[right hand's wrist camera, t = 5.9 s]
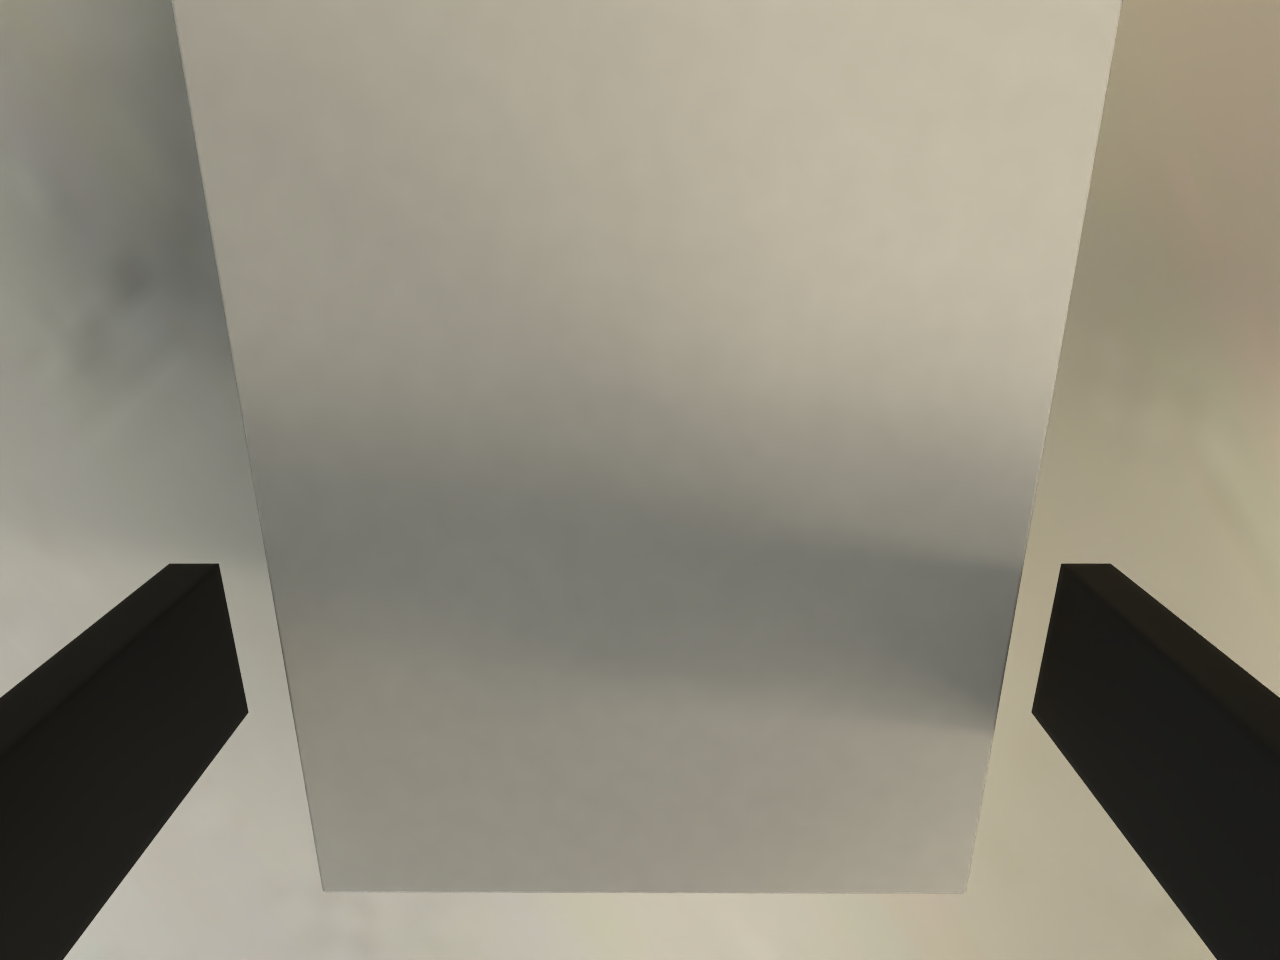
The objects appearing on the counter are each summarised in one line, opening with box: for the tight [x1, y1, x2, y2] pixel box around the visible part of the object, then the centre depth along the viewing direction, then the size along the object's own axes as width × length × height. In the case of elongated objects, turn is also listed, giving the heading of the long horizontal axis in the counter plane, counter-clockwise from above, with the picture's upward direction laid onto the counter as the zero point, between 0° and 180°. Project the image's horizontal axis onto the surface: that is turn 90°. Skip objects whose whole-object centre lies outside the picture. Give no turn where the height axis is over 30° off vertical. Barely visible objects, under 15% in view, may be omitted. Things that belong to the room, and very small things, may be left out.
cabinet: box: [171, 0, 1122, 894], centre depth 15 cm, size 22×11×10 cm, turn 0°
